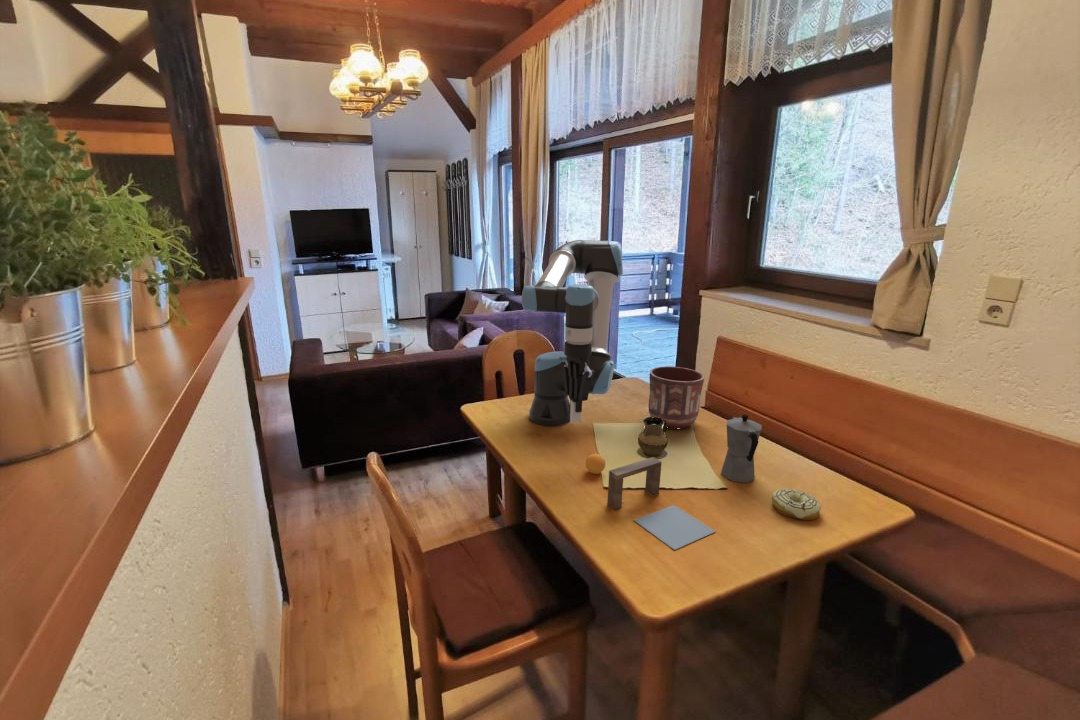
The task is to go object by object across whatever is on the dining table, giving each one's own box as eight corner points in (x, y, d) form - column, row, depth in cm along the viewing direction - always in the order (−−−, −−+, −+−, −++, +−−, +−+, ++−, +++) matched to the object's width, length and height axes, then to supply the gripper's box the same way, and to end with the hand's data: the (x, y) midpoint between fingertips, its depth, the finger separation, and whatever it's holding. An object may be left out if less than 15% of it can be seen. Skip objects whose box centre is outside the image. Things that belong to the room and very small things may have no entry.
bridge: (607, 503, 130) (609, 470, 128) (650, 488, 138) (653, 457, 135) (615, 509, 128) (617, 475, 125) (658, 494, 135) (661, 461, 133)
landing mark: (633, 520, 123) (634, 520, 123) (673, 505, 130) (673, 504, 130) (674, 550, 113) (674, 549, 113) (715, 532, 119) (715, 531, 119)
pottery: (658, 435, 171) (663, 382, 166) (638, 415, 187) (642, 367, 182) (708, 431, 174) (714, 380, 169) (683, 412, 191) (688, 365, 186)
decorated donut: (803, 528, 122) (806, 513, 121) (762, 507, 130) (764, 493, 129) (827, 514, 127) (829, 500, 126) (786, 494, 136) (788, 481, 135)
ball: (581, 470, 147) (581, 453, 145) (596, 466, 149) (597, 448, 148) (593, 479, 142) (594, 460, 141) (609, 474, 145) (610, 456, 143)
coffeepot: (713, 463, 152) (719, 405, 147) (745, 464, 152) (753, 406, 147) (731, 490, 137) (739, 427, 132) (767, 491, 137) (776, 427, 132)
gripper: (553, 338, 148) (552, 416, 154) (581, 348, 137) (578, 431, 143) (575, 335, 151) (573, 412, 158) (603, 344, 141) (599, 426, 147)
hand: (575, 421), depth 150 cm, fingers closed
